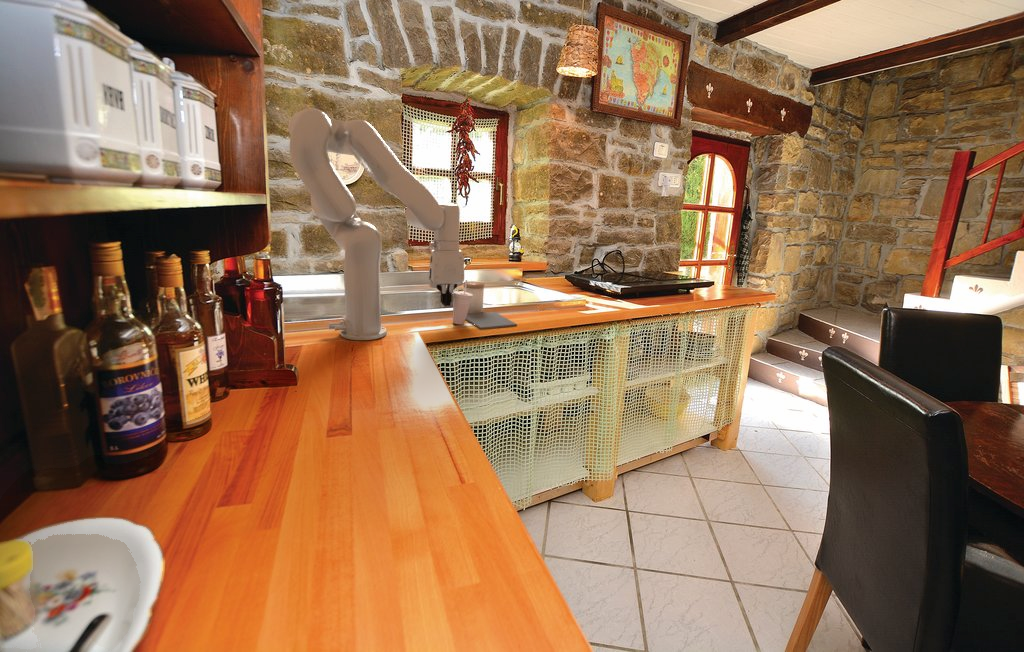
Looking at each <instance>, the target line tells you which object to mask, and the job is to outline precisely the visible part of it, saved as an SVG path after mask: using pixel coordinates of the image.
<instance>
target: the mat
mask: <svg viewBox="0 0 1024 652" xmlns="http://www.w3.org/2000/svg"><path fill="white" fill-rule="evenodd" d="M465 321H467V322H468V323H470V324H471V323H472V324H471V325H473V324H475V325H476V326H477V327H478V328H477V327H476V326H475V327H476V328H477V329H479V330H487V329H490V330H491V329H498V328H499V329H500V328H508V327H518V323H516V322H515V321H512V320H511V319H508V318H507V317H505V316H503V315H501V314H499V313H498V312H495V311H489V312H488V311H487V312H482V313H474V314H469V313H467V316H466V319H465Z"/></svg>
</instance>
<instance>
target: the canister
mask: <svg viewBox="0 0 1024 652" xmlns="http://www.w3.org/2000/svg"><path fill="white" fill-rule="evenodd" d="M462 287H463V289H464V288H465V281H463V285H462ZM484 290H485V282H482V281H481V282H480V281H476V280H475V281H472V280H470V281H469V280H467V286H466V292H467V293H470V294H472V295H473V298H472V299H471V302H470V306H469V309H468V312H467V314H474V313H484ZM462 292H464V290H463V291H462Z"/></svg>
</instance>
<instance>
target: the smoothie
mask: <svg viewBox="0 0 1024 652" xmlns="http://www.w3.org/2000/svg"><path fill="white" fill-rule="evenodd" d="M464 282H465V288H464V287H463V291H464V292H463V291H459V290H454V291H453V293H452V296H453V300H452V301H453V303H452V305H453V306H452V307H453V308H452V323H453V324H455V325H465V321H466V320H465V319H466V316H467V314H468V313H467V312H468V309H469V306H470V302H471V299H472V298H473V295H472V294H470V293H467V292H466V286H467V282H468V280H467V279H466V280H464Z"/></svg>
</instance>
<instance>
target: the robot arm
mask: <svg viewBox="0 0 1024 652" xmlns="http://www.w3.org/2000/svg"><path fill="white" fill-rule="evenodd" d="M287 128H288V129H287V130H288V132H289V133H288V134H289V135H290V137H289V156H290V161H291V164H292V166H293V168H294V171H295V172H296V174H297V176H298V178H299V179H300V181H301V182H302V183H303V185H304V187H305V188H306V190H307V192H308V193H309V194H310V205H311V208H312V210H313V212H314V214H315V216H316V217H317V219H318V220H319V221H320V223H321V224H322V226H323V227H324V228H325V230H326V231H327V233H328V234H329V235H330V237H331V238H332V239H333V241H334V242H335V244H336V245H337V246H338V247H339V248H340V249H342V250H343V251H344V260H343V282H344V283H343V284H344V285H343V286H344V305H345V306H344V309H345V317H342V320H339V321H338V322H337V321H336V322H334V321H332V322H327V329H328V330H334V331H340V336H341V337H342V338H344V339H347V340H353V341H370V340H377V339H381V338H383V337H385V336H386V335H387V331H388V330H387V328H386V327H385V326H382V318H381V317H382V315H381V314H382V311H381V310H382V308H381V259H382V258H381V257H382V250H383V241H382V237H381V234H380V232H379V230H378V229H377V228H376V226H374V225H373V224H371V223H369V222H367V221H364V220H362V219H361V218H360V217H359V215H358V214H357V211H356V210H357V203H356V200H355V198H354V196H353V194H352V193H351V191H350V190H349V188H348V187H347V186H346V184H345V182H344V181H343V179H342V178H341V177H340V175H339V174H338V171H337V170H336V168H335V167H334V165H333V163H332V161H331V158H330V157H329V154H328V153H333V154H341V155H348V156H354V157H355V159H356V160H357V161H358V162H359V164H360V165H361V166H362V167H363V168H364V169H365V171H366V172H367V173H368V174H369V176H370V177H371V178H372V180H374V182H375V183H376V184H377V185H378V186H379V187H380V188H381V189H382V190H384V191H385V192H387V193H389V194H390V195H392V196H394V197H396V198H397V199H398V200H399V201H400V202H402V204H404V205H405V206H406V207H407V208H406V209H405V212H404V218H405V220H406V222H407V224H409V225H410V226H411V227H414V228H416V229H419V230H424V231H428V232H433V240H432V241H429V243H428V245H429V247H431V248H433V249H431V253H430V258H429V265H428V266H429V267H428V268H429V269H428V280H429V283H428V286H429V287H430V288H432V289H437V290H438V292H440V304H441V305H442V306H444V307H450V306H451V303H452V301H453V300H452V296H453V292H454V291H455V290H456V288H458V287H461V286H462V287H463V283H464V282H465V264H464V256H463V255H464V254H463V250H461V249H460V212H461V211H460V207H459V205H458V204H455V203H449V202H448V203H443V202H442V203H439V202H438V201H437V200H436V198H435V196H433V194H432V193H431V192H430V191H429V189H428V188H427V187H426V186H425V185H424V184H423V183H422V182H421V181H420V180H419V179H418V178H416V177H415V176H414V175H413V173H411V172H410V170H408V169H407V168H406V167H405V166H404V165H403V163H402V162H401V161H400V160H399V159H398V157H397V156H396V155H395V153H394V152H393V151H392V150H391V149H390V147H389V146H388V144H386V142H385V140H384V139H383V137H381V135H380V134H379V133H378V131H377V130H376V129H375V128H374V126H372V124H370V123H369V122H368V121H366V120H364V119H352V120H348V121H347V120H339V119H336V118H335V119H334V118H330V117H329V116H328V115H327V114H326V113H325V112H324V111H322V110H321V109H318V108H315V107H309V108H305V109H302V110H299V111H298V112H296V113H294V114H293V115H292V116H291V117H290V119H289V121H288V125H287Z"/></svg>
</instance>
